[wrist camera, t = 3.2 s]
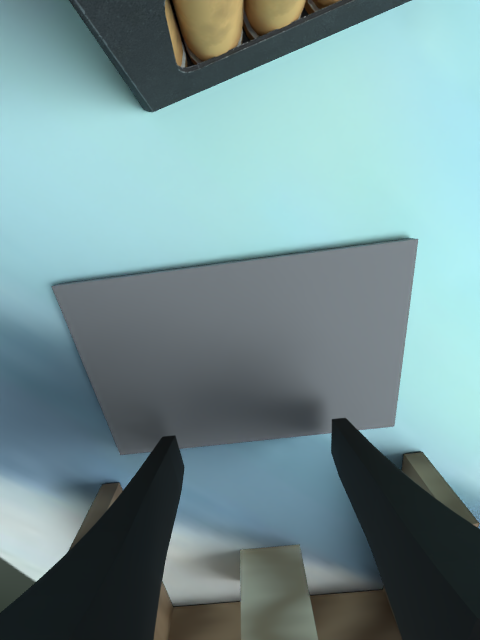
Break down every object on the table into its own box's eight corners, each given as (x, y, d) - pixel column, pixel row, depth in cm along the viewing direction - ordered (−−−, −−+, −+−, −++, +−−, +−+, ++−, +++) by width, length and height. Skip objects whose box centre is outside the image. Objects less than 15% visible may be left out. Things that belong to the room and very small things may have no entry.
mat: (411, 238, 10) (418, 239, 9) (389, 420, 13) (394, 426, 13) (58, 284, 10) (51, 286, 10) (123, 448, 14) (120, 455, 13)
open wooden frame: (422, 452, 14) (479, 523, 11) (395, 595, 19) (426, 671, 16) (102, 484, 14) (63, 561, 11) (163, 614, 20) (149, 691, 17)
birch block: (299, 543, 17) (323, 666, 12) (301, 576, 18) (323, 697, 14) (240, 549, 17) (241, 672, 12) (246, 581, 19) (250, 702, 14)
